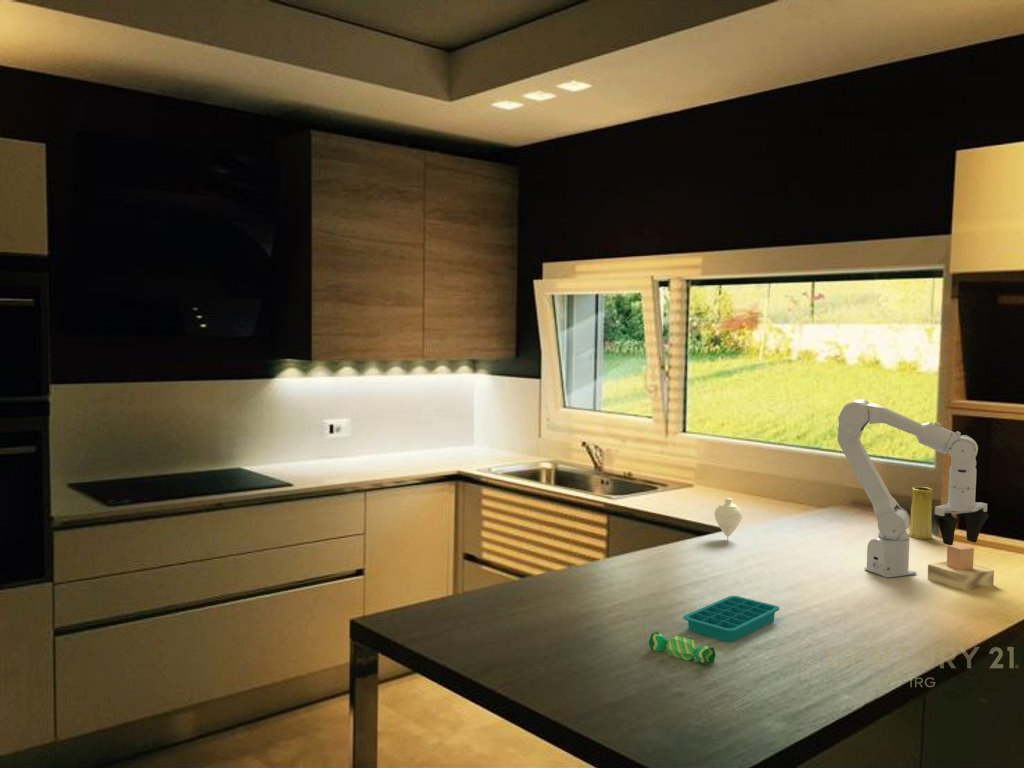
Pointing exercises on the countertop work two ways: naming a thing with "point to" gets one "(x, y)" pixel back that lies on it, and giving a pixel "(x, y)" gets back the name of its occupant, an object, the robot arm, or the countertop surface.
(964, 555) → the terracotta block
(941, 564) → the beech block
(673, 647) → the candy
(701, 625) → the ice cube tray
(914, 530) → the vase
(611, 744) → the countertop surface
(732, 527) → the spinning top
